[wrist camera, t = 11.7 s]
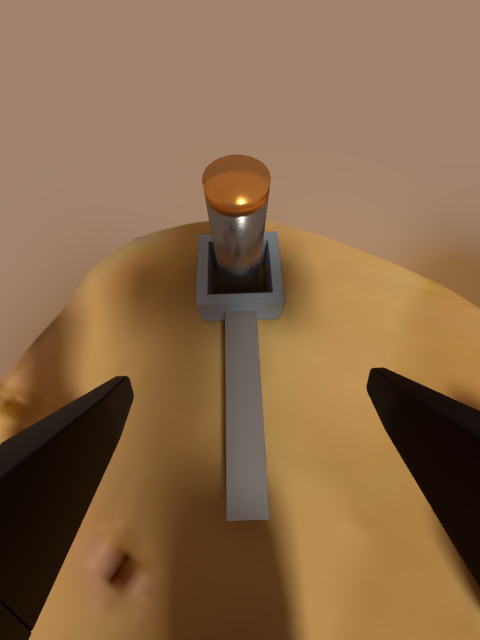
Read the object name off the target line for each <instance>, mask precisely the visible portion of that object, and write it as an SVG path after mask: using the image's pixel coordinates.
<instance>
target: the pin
mask: <svg viewBox="0 0 480 640" xmlns="http://www.w3.org/2000/svg"><path fill="white" fill-rule="evenodd" d="M202 181H203V188H204V193H205V199H206V205H207V210H208V216H209V222H210V227H211V233H212V238H213V244H214V249H215V255H216V261H217V266H218V272H219V277H220V283H221V289H222V293H223V294H242V293H256V292H257V287H258V279H259V271H260V262H261V254H262V246H263V238H264V229H265V221H266V212H267V204H268V196H269V188H270V172H269V170H268V169H267V167H266V166H265V165H264V164H263V163H262V162H260V161H259V160H257V159H255V158H253V157H249V156H245V155H229V156H225V157H221V158H219V159H217V160H215V161H213V162H212V163H211V164H210V165H208V167H207V168H206V169H205V171H204V173H203V178H202Z"/></svg>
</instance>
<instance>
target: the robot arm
mask: <svg viewBox="0 0 480 640" xmlns="http://www.w3.org/2000/svg"><path fill="white" fill-rule="evenodd" d="M367 392H368V394H369V396H370V399H371V401H372V403H373V405H374V407H375V409H376V411H377V413H378V416H379V418H380V420H381V422H382V424H383V426H384V428H385V430H386V432H387V434H388V435H389V437H390V439H391V441H392V442H393V444H394V446H395V447H396V449H397V451H398V452H399V454H400V456H401V457H402V459H403V461H404V462H405V464H406V466H407V467H408V469H409V471H410V472H411V474H412V476H413V477H414V479H415V481H416V482H417V484H418V486H419V487H420V489H421V491H422V492H423V494H424V496H425V498H426V499H427V501H428V503H429V504H430V506H431V508H432V509H433V511H434V513H435V514H436V516H437V518H438V519H439V521H440V523H441V524H442V526H443V528H444V529H445V531H446V533H447V534H448V536H449V538H450V539H451V541H452V543H453V544H454V546H455V548H456V549H457V551H458V553H459V555H460V556H461V558H462V560H463V561H464V563H465V565H466V566H467V568H468V570H469V571H470V573H471V575H472V576H473V578H474V580H475V581H476V583H477V585H478V586H479V588H480V411H478V410H476V409H474V408H472V407H470V406H467V405H465V404H463V403H461V402H459V401H456V400H454V399H452V398H450V397H448V396H445V395H443V394H441V393H439V392H437V391H434V390H432V389H430V388H428V387H426V386H423V385H421V384H419V383H417V382H415V381H412V380H410V379H408V378H406V377H404V376H401V375H399V374H397V373H395V372H393V371H390V370H388V369H386V368H372V369H371V370H370V373H369V378H368V382H367ZM133 398H134V394H133V390H132V386H131V382H130V379H129V377H127V376H116V377H114V378H112V379H111V380H109V381H107V382H105V383H104V384H102V385H100V386H99V387H97V388H95V389H93V390H92V391H90V392H88V393H87V394H85V395H83V396H81V397H80V398H78V399H76V400H75V401H73V402H71V403H69V404H68V405H66V406H64V407H62V408H61V409H59V410H57V411H56V412H54V413H52V414H50V415H49V416H47V417H45V418H44V419H42V420H40V421H38V422H37V423H35V424H33V425H32V426H30V427H28V428H26V429H25V430H23V431H21V432H19V433H18V434H16V435H14V436H13V437H11V438H9V439H7V440H6V441H4V442H2V443H1V445H0V640H29V637H30V635H31V631H32V630H33V628H34V626H35V624H36V622H37V619H38V617H39V615H40V613H41V611H42V608H43V606H44V604H45V602H46V600H47V597H48V595H49V593H50V591H51V589H52V587H53V584H54V582H55V580H56V578H57V576H58V573H59V571H60V569H61V567H62V565H63V562H64V560H65V558H66V556H67V554H68V552H69V549H70V547H71V545H72V543H73V541H74V538H75V536H76V534H77V532H78V530H79V527H80V525H81V523H82V521H83V519H84V517H85V514H86V512H87V510H88V508H89V506H90V503H91V501H92V499H93V497H94V495H95V492H96V490H97V488H98V486H99V484H100V482H101V479H102V477H103V475H104V473H105V471H106V468H107V466H108V464H109V462H110V460H111V457H112V455H113V453H114V451H115V449H116V446H117V444H118V442H119V440H120V437H121V434H122V431H123V428H124V425H125V422H126V420H127V417H128V414H129V411H130V408H131V405H132V402H133Z"/></svg>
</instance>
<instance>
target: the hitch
mask: <svg viewBox="0 0 480 640" xmlns="http://www.w3.org/2000/svg"><path fill="white" fill-rule="evenodd" d="M260 264H265V275H266V287H267V293H242V294H213V265H217V261H216V255H215V249H214V244H213V238H212V234H199V241H198V264H197V286H196V307H197V309H198V311H199V314H200V316H201V318H202V320H203V321H225V373H226V496H227V521H244V520H270V517H269V501H268V486H267V470H266V454H265V439H264V423H263V407H262V391H261V376H260V360H259V344H258V329H257V319H279V317H280V314H281V312H282V309H283V307H284V304H285V295H284V286H283V278H282V269H281V261H280V252H279V243H278V235H277V232H264V238H263V246H262V254H261V262H260Z"/></svg>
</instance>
